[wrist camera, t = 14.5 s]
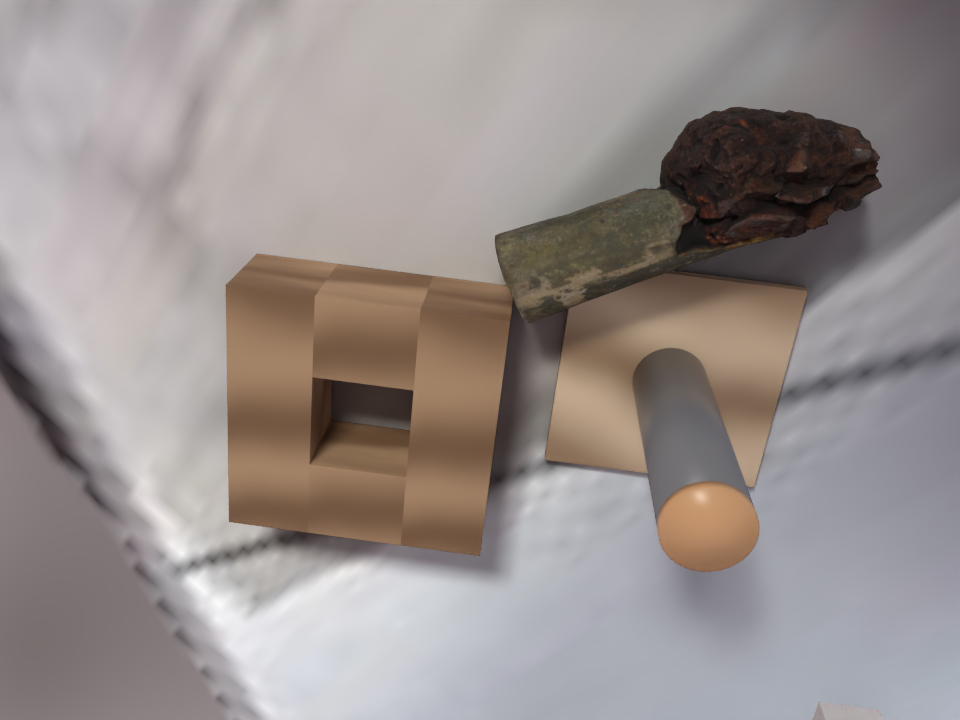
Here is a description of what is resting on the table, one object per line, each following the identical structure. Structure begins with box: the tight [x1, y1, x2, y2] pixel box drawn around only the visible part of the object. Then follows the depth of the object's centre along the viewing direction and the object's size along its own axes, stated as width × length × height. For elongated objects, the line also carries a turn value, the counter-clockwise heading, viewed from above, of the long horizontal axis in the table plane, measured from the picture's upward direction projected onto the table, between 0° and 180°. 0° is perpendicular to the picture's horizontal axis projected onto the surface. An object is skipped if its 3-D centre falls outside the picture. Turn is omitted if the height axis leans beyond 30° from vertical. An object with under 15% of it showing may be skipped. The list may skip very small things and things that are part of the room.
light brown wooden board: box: [545, 271, 808, 487], centre depth 49 cm, size 12×12×1 cm
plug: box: [632, 348, 759, 572], centre depth 43 cm, size 4×4×14 cm
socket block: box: [226, 254, 513, 556], centre depth 49 cm, size 14×14×5 cm
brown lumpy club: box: [495, 107, 882, 323], centre depth 43 cm, size 18×7×6 cm, turn 111°
